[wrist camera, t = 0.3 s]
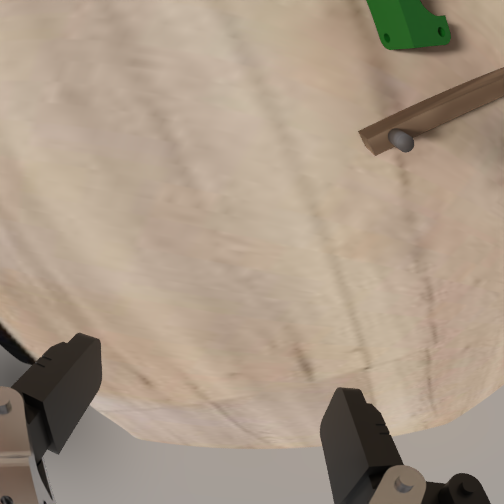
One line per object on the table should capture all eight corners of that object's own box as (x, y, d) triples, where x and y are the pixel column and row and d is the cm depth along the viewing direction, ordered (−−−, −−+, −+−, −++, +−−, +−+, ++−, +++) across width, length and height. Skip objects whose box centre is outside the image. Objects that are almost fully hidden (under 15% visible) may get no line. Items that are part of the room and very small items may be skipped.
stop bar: (358, 131, 33) (376, 147, 27) (503, 67, 25) (537, 74, 19) (365, 146, 34) (384, 164, 28) (508, 81, 26) (541, 90, 20)
